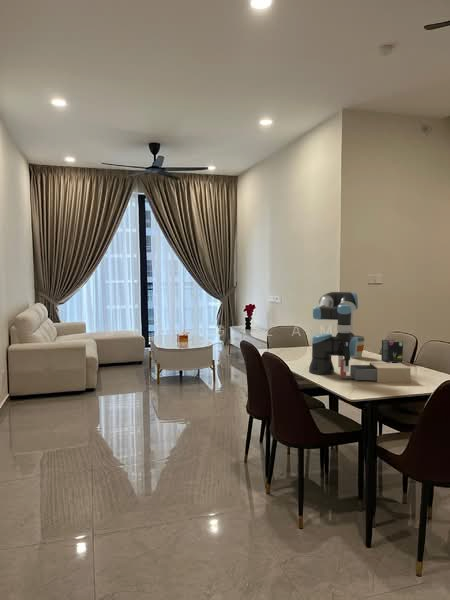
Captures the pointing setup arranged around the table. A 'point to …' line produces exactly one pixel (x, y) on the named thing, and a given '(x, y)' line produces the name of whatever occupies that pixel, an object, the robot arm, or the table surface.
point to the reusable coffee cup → (359, 347)
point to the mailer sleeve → (392, 372)
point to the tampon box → (392, 351)
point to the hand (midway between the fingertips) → (343, 369)
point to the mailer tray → (360, 372)
